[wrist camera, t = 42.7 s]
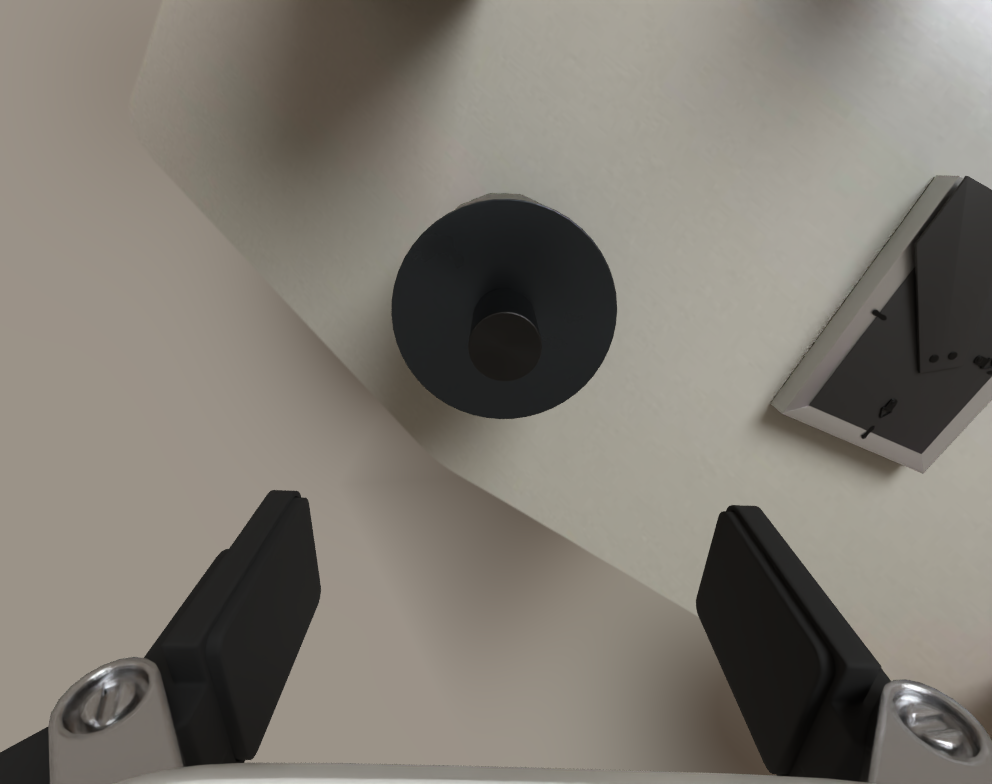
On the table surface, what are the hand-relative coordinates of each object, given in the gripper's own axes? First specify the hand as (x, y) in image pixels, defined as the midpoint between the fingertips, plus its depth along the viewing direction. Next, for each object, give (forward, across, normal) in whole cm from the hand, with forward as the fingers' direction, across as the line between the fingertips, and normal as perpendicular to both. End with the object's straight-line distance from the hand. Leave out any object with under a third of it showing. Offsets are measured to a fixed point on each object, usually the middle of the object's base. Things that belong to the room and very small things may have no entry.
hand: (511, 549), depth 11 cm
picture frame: (+32, -36, +4) cm, 49 cm away
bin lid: (+20, 0, 0) cm, 20 cm away
